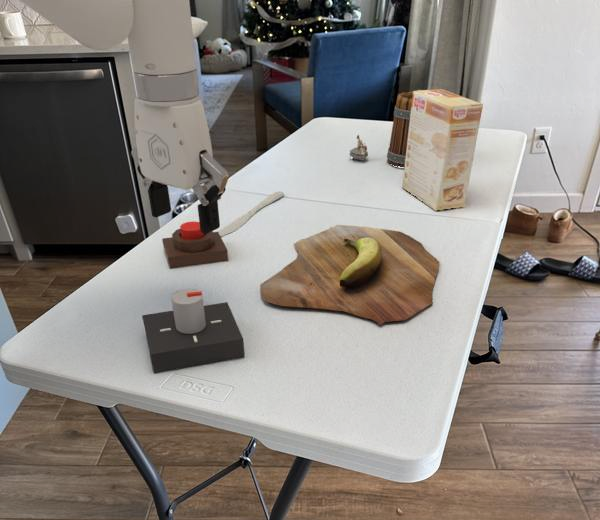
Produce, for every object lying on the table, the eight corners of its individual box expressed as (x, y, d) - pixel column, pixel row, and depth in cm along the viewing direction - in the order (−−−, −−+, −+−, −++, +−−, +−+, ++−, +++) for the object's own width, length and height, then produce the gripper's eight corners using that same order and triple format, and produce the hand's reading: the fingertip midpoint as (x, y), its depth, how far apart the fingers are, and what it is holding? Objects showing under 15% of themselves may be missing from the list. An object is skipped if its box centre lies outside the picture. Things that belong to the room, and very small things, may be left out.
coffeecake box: (465, 207, 119) (485, 103, 106) (435, 212, 117) (451, 106, 104) (429, 184, 130) (442, 87, 117) (400, 188, 128) (411, 90, 115)
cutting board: (427, 335, 81) (431, 311, 79) (244, 308, 87) (243, 285, 84) (447, 236, 107) (450, 216, 105) (305, 221, 113) (305, 201, 111)
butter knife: (289, 192, 124) (276, 189, 125) (219, 240, 105) (205, 236, 106) (289, 195, 124) (276, 192, 125) (219, 243, 106) (205, 239, 107)
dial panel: (153, 373, 74) (149, 353, 72) (145, 333, 81) (141, 314, 80) (244, 357, 77) (243, 337, 75) (228, 320, 84) (227, 300, 82)
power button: (183, 241, 97) (181, 231, 96) (179, 232, 100) (178, 222, 99) (206, 238, 98) (205, 229, 97) (202, 229, 101) (201, 220, 100)
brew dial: (178, 336, 75) (173, 303, 72) (174, 320, 78) (169, 289, 75) (208, 331, 76) (204, 299, 73) (203, 316, 79) (199, 284, 76)
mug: (426, 172, 136) (435, 102, 127) (382, 167, 139) (388, 98, 129) (435, 153, 148) (445, 88, 138) (395, 149, 150) (401, 85, 141)
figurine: (346, 158, 145) (347, 132, 141) (361, 156, 146) (363, 130, 142) (356, 164, 141) (358, 138, 137) (372, 162, 142) (374, 136, 139)
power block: (170, 269, 97) (166, 247, 94) (164, 250, 103) (160, 228, 100) (228, 261, 99) (226, 239, 97) (219, 243, 105) (217, 221, 103)
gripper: (97, 83, 72) (124, 216, 83) (195, 102, 64) (211, 246, 75) (143, 74, 77) (163, 201, 88) (240, 90, 69) (249, 228, 80)
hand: (185, 222), depth 81 cm, fingers open, 9 cm apart
